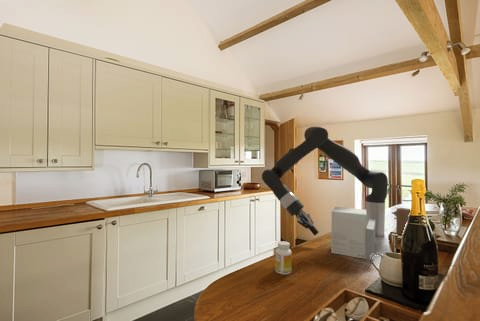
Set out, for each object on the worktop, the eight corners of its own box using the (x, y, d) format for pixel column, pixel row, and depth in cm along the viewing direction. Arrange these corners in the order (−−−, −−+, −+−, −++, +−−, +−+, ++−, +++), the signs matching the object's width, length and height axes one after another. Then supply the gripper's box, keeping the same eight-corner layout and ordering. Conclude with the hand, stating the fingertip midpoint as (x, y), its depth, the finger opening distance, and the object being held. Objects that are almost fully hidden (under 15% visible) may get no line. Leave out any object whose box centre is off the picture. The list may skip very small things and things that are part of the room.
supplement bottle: (292, 269, 88) (292, 241, 88) (290, 276, 83) (290, 246, 83) (276, 267, 90) (277, 239, 90) (273, 273, 85) (274, 244, 85)
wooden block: (423, 253, 108) (424, 210, 108) (419, 255, 105) (420, 211, 105) (399, 247, 114) (400, 207, 114) (395, 249, 112) (396, 208, 112)
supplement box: (366, 249, 111) (367, 209, 111) (366, 259, 99) (367, 214, 99) (334, 244, 117) (334, 206, 117) (330, 253, 105) (331, 210, 105)
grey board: (369, 244, 118) (369, 218, 118) (375, 245, 117) (375, 219, 117) (365, 259, 99) (366, 228, 99) (372, 260, 98) (373, 229, 98)
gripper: (292, 200, 113) (319, 232, 107) (301, 197, 125) (326, 225, 119) (281, 210, 116) (306, 242, 110) (290, 206, 128) (314, 235, 121)
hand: (316, 233), depth 114 cm, fingers closed
